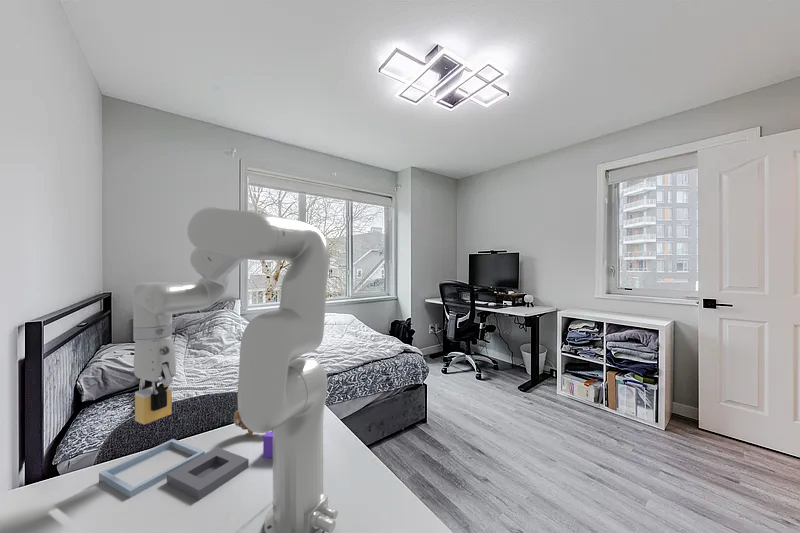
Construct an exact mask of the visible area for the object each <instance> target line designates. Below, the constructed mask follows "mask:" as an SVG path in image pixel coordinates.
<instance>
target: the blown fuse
mask: <svg viewBox="0 0 800 533" xmlns="http://www.w3.org/2000/svg"><path fill="white" fill-rule="evenodd" d="M157 386H159V384H157ZM172 390H173V386H172V385H169V387H168V391H167V406H166V407H164V408H161V409H159V410H156V411H151V394H153V388H152V387H149V388H146V389H143V390H140V389H139V390H137V391H135V392H134V421H135V422H137V423H139V424H142V425H143V426H144V425H147V424H150V423H152V422H155V421H157V420H159V419H162V418H165V417H168V416H170V415H173V414H172V412H173V409H172V408H173V406H172V405H173V401H172V399H173V391H172Z"/></svg>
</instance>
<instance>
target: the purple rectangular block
mask: <svg viewBox="0 0 800 533" xmlns="http://www.w3.org/2000/svg"><path fill="white" fill-rule="evenodd" d="M262 439H263V440H262V445H263V446H262V447H263V450H262V452H263V456H262V457H263V459H273V432H271V431H270V432H267V433H264V435H263V436H262Z"/></svg>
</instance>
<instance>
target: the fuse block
mask: <svg viewBox="0 0 800 533" xmlns="http://www.w3.org/2000/svg"><path fill="white" fill-rule="evenodd" d="M249 467H250V466H249V458H246V457H245V456H241V455H239V454H236V453H233V452H231V451H228V450H225V449H223V448H221V447H218V446H217V447H215V448H213V449H211V450H209V451H207V452H205V454H203V455H202V456H200V457H198V458H196V459H194V460H192V461H190V462H189V463H187V464H185V465H183V466H181V467H179V468H178V469H176V470H174V471H172V472H170V473H168V474H167V478H166V484H167V485H169V486H171V487H173V488H175V489H177V490H179V491H181V492H183V493H185V494H186V495H188V496H191V497H193V498H194V499H196V500H198V501H201V500H202V499H203V498H205V497H207V496H208V495H209V494H211V493H212V492H214V491H215V490H217V489H218V488H220V487H222V486H223V485H225V483H227V482H229V481H231V480H232V479H233V478H235V477H236V476H238V475H239V474H241V473H243V472H244V471H246V470H247V469H248V468H249Z"/></svg>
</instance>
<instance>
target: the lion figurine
mask: <svg viewBox="0 0 800 533" xmlns="http://www.w3.org/2000/svg"><path fill="white" fill-rule="evenodd" d="M233 413H234V415H233V423H234V425H235V427H239V428H241V429H242V430H243V431H244V430H247V434H248V437H249V438H252V437H253V436H254V434H253V433H254V432H252V431H250V430H249V429H248V428H247V427H246V426H245V425H244V423H243V422H242V420H241V417H240V414H239V410H238V409H237V410H236V411H234V412H233ZM270 432H273V430H272V431H270Z"/></svg>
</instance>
